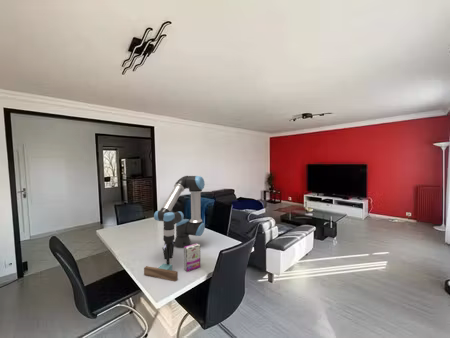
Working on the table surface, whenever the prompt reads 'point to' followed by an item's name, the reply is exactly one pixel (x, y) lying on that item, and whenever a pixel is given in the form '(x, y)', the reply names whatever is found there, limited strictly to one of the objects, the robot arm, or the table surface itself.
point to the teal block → (166, 266)
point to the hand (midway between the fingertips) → (168, 267)
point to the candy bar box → (191, 257)
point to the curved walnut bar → (161, 273)
